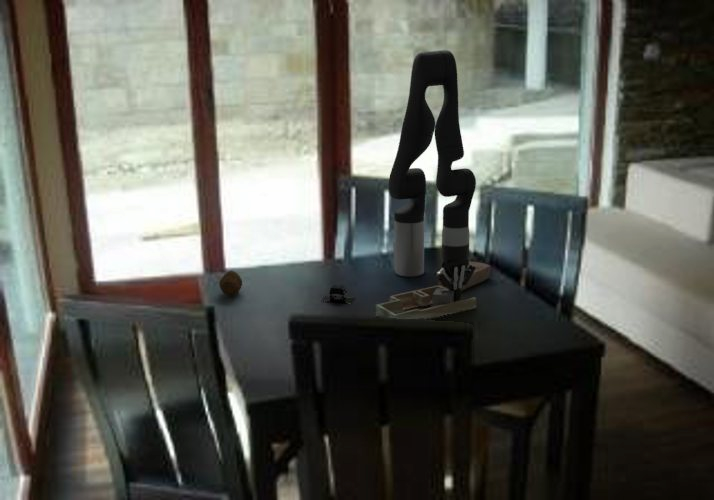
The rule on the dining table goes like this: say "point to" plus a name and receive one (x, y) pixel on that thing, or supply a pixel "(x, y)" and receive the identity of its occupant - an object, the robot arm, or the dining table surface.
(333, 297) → the black hat
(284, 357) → the dining table surface
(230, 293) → the potato
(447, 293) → the dice cube
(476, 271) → the brick
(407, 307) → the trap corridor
